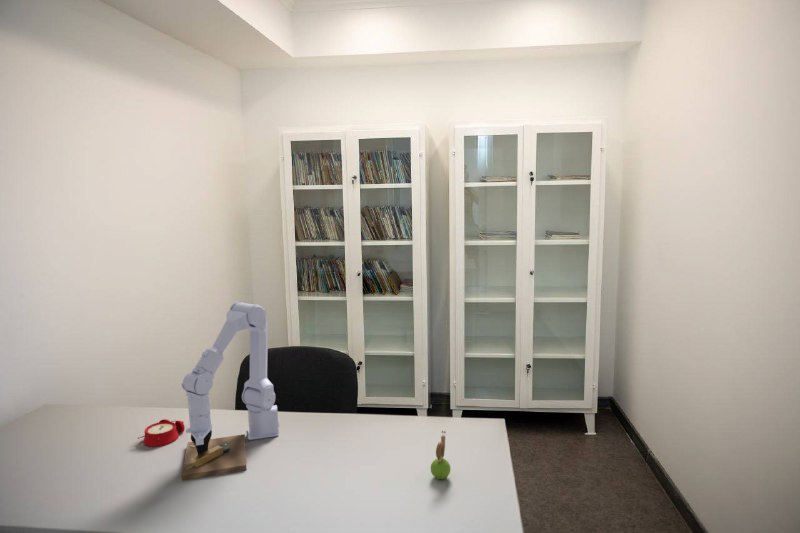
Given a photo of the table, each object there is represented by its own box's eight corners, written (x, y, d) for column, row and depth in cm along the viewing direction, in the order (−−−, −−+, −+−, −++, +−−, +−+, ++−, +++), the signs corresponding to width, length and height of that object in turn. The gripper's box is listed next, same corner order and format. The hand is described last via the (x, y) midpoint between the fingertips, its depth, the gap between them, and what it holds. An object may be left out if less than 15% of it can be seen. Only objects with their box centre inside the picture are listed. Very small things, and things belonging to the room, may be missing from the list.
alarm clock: (132, 436, 165) (162, 407, 178) (137, 452, 167) (166, 422, 181) (161, 439, 162) (189, 409, 176) (166, 456, 165) (193, 425, 178)
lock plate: (245, 438, 170) (244, 433, 170) (246, 469, 151) (246, 464, 151) (188, 446, 165) (187, 441, 165) (182, 480, 146) (181, 474, 146)
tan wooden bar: (225, 447, 161) (224, 440, 160) (232, 450, 159) (231, 443, 158) (190, 465, 150) (190, 457, 150) (197, 468, 149) (197, 460, 148)
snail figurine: (453, 472, 148) (453, 431, 146) (447, 484, 142) (447, 442, 140) (434, 469, 150) (434, 429, 148) (428, 481, 144) (428, 439, 142)
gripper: (186, 404, 158) (190, 447, 160) (182, 425, 145) (186, 471, 147) (211, 401, 160) (215, 443, 162) (209, 422, 147) (213, 467, 149)
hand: (203, 456), depth 155 cm, fingers closed, pressing on tan wooden bar
